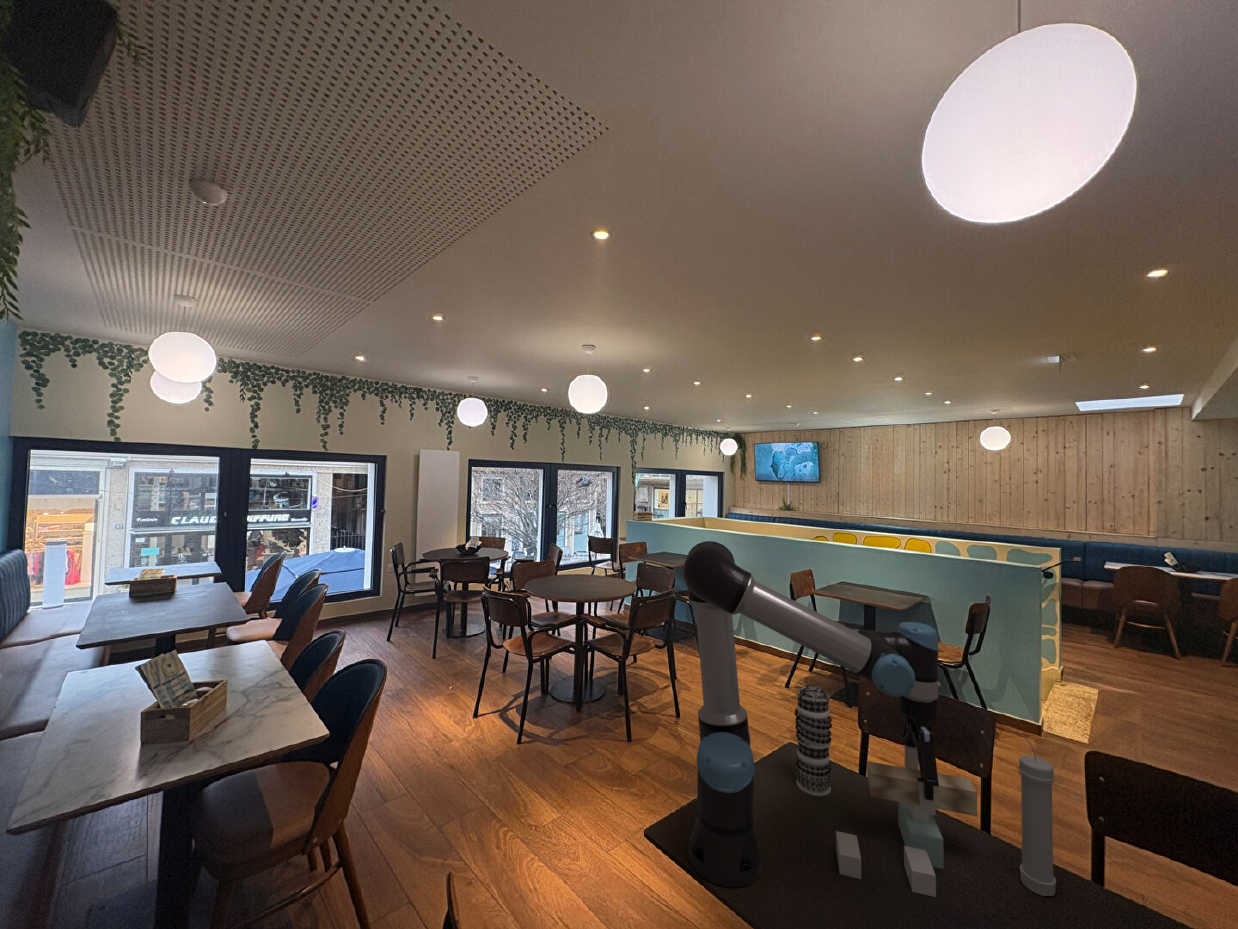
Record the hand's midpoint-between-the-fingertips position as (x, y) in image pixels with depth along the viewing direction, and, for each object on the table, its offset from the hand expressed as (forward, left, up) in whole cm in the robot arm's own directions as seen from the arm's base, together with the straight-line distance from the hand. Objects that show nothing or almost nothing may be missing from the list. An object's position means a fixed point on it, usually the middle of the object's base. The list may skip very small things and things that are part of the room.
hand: (919, 793), depth 109 cm
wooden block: (0, 0, -1) cm, 1 cm away
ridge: (0, 0, -11) cm, 11 cm away
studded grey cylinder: (-21, +15, -11) cm, 28 cm away
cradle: (-9, -11, -11) cm, 18 cm away
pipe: (+19, -5, -11) cm, 23 cm away
